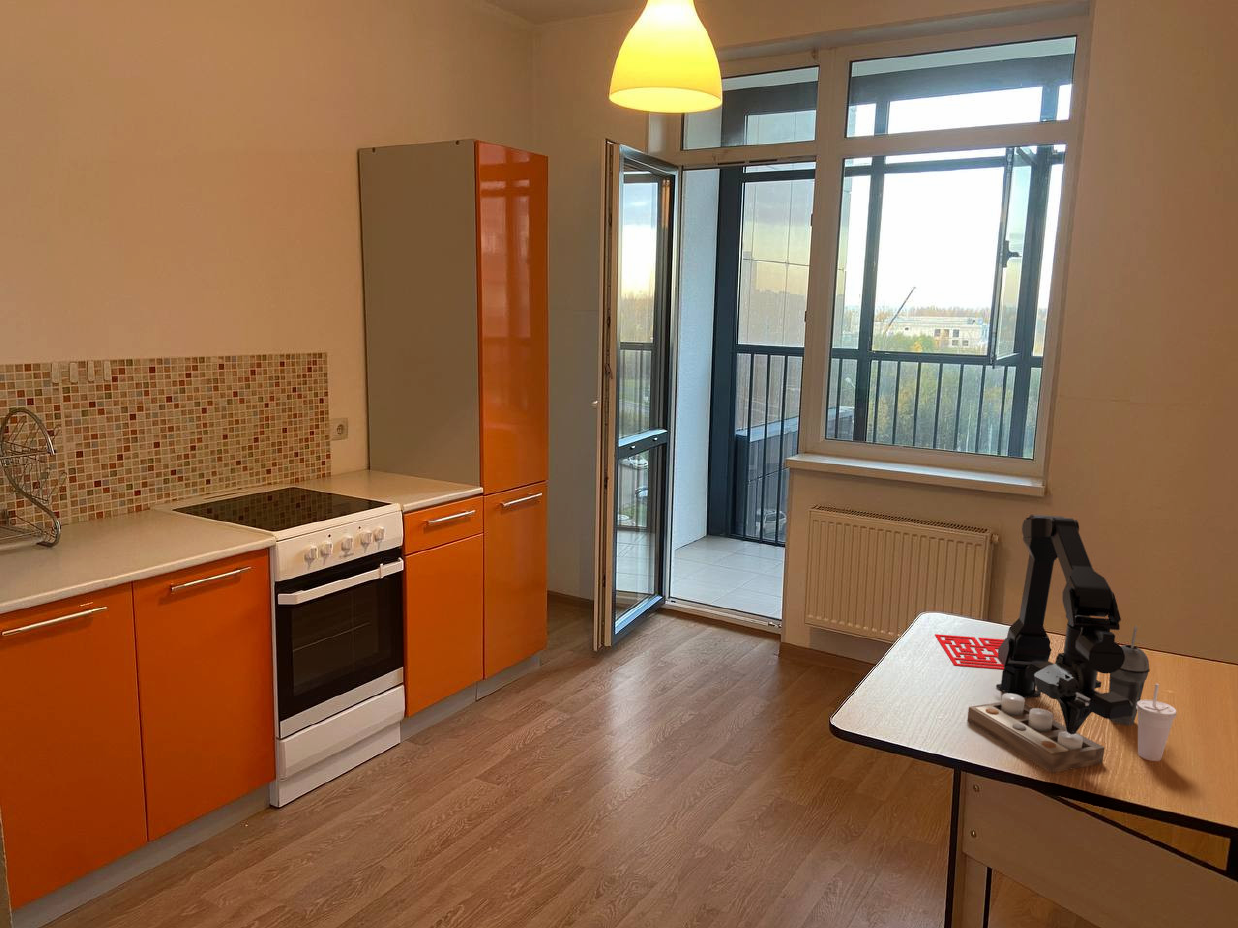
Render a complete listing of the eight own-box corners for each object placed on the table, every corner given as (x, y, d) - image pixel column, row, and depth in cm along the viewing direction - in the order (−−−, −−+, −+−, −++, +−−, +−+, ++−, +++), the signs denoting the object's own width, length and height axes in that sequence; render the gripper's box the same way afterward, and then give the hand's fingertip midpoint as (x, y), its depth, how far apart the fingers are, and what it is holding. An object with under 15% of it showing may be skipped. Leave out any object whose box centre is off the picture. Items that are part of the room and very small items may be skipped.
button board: (1015, 713, 183) (1016, 697, 183) (1102, 763, 164) (1104, 745, 164) (967, 720, 179) (969, 704, 179) (1051, 772, 160) (1053, 754, 159)
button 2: (1068, 745, 168) (1070, 730, 168) (1085, 755, 164) (1088, 739, 164) (1051, 748, 167) (1053, 732, 166) (1069, 758, 163) (1071, 742, 163)
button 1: (1012, 706, 181) (1013, 692, 180) (1027, 715, 177) (1029, 700, 177) (996, 708, 179) (998, 694, 179) (1011, 717, 176) (1013, 702, 175)
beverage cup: (1137, 715, 185) (1151, 621, 181) (1145, 731, 178) (1159, 633, 174) (1097, 709, 187) (1110, 616, 183) (1104, 724, 180) (1117, 627, 177)
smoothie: (1122, 747, 170) (1132, 677, 168) (1154, 747, 171) (1164, 677, 169) (1144, 764, 164) (1155, 691, 162) (1177, 764, 165) (1189, 691, 162)
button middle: (1039, 721, 174) (1041, 707, 174) (1056, 731, 171) (1058, 715, 170) (1023, 724, 173) (1025, 709, 172) (1039, 733, 169) (1041, 718, 169)
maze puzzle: (1018, 643, 225) (1018, 640, 225) (1045, 674, 206) (1045, 671, 205) (934, 636, 227) (935, 634, 227) (953, 667, 208) (954, 664, 208)
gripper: (1007, 637, 168) (998, 716, 171) (1091, 676, 151) (1079, 764, 153) (1053, 631, 172) (1043, 709, 175) (1140, 669, 155) (1128, 754, 157)
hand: (1071, 733), depth 165 cm, fingers closed
